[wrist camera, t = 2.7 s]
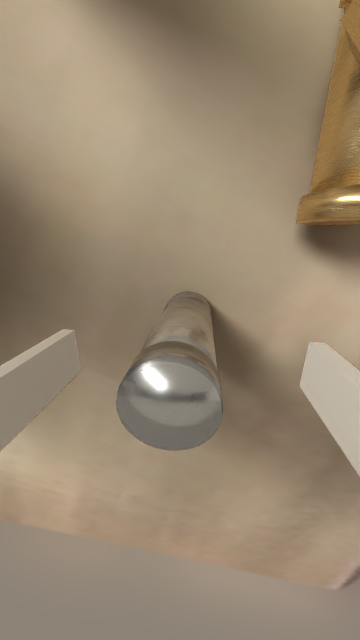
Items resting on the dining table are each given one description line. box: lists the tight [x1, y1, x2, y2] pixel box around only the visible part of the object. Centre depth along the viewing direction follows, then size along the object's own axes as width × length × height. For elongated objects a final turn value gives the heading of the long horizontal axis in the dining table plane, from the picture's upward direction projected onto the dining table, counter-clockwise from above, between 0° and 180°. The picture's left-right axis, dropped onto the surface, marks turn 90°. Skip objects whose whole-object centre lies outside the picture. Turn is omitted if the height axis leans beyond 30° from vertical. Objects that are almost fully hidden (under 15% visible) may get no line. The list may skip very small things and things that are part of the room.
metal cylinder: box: [116, 292, 223, 450], centre depth 14 cm, size 4×4×12 cm
